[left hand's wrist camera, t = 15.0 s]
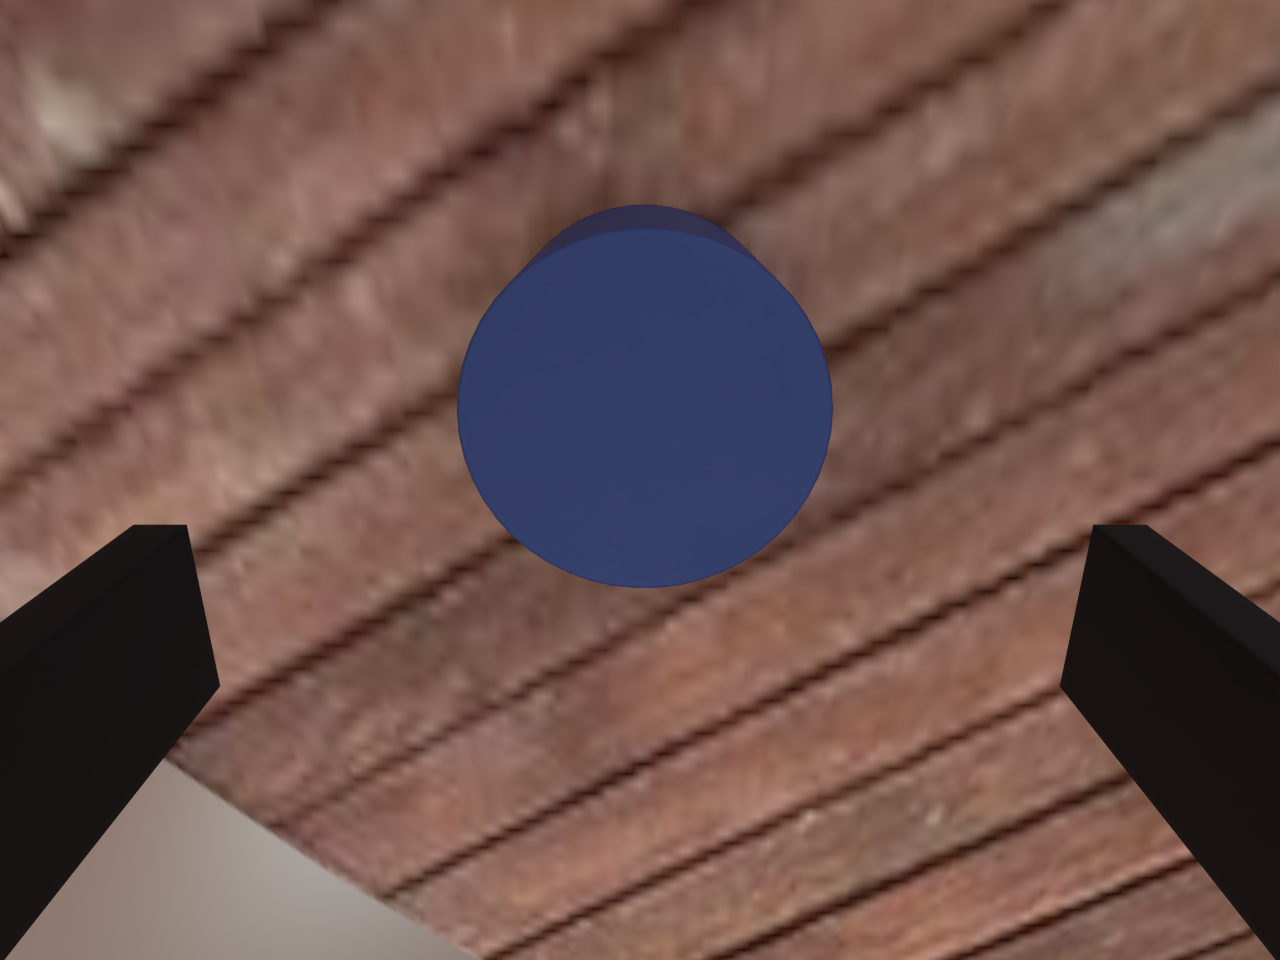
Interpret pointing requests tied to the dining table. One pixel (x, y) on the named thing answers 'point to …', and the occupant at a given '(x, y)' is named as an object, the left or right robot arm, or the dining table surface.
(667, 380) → the blue cylinder
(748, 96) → the dining table surface
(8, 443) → the dining table surface
